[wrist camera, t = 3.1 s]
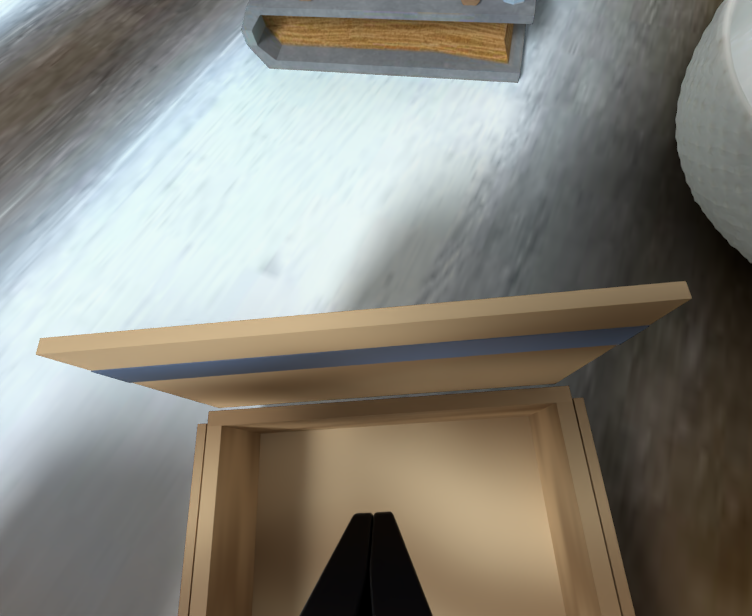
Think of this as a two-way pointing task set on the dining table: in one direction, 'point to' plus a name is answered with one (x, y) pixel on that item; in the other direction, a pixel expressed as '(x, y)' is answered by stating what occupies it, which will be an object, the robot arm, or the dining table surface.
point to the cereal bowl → (720, 123)
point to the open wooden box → (406, 503)
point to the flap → (375, 347)
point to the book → (392, 36)
